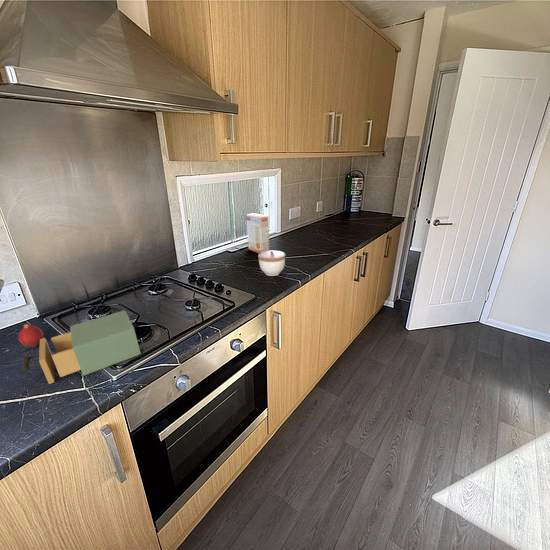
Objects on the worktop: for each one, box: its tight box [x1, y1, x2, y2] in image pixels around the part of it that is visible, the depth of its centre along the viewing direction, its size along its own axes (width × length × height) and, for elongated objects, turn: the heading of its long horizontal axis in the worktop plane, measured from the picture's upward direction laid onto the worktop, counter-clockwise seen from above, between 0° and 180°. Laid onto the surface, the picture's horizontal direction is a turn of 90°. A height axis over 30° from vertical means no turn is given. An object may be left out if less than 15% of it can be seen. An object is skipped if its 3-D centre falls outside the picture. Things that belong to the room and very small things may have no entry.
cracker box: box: [245, 212, 270, 255], centre depth 165 cm, size 14×6×21 cm, turn 37°
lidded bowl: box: [257, 250, 286, 277], centre depth 136 cm, size 13×13×11 cm
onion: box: [18, 324, 44, 348], centre depth 89 cm, size 6×6×8 cm
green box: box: [69, 310, 142, 377], centre depth 85 cm, size 15×13×9 cm
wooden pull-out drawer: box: [20, 331, 81, 385], centre depth 79 cm, size 18×11×7 cm, turn 126°
